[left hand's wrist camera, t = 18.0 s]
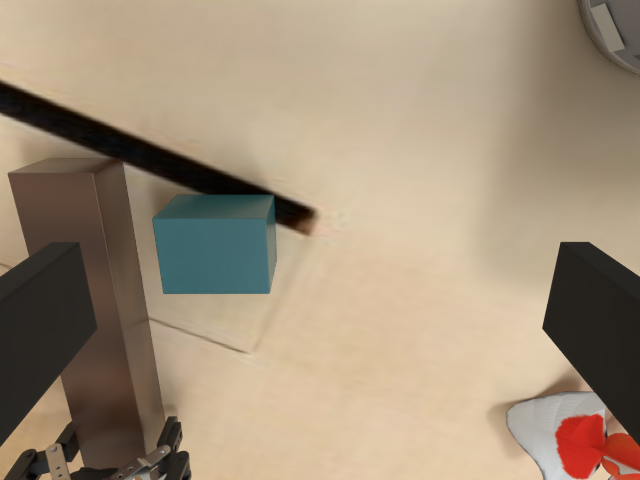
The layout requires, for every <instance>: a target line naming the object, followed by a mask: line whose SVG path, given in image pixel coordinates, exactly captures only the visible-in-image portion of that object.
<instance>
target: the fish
mask: <svg viewBox="0 0 640 480" xmlns="http://www.w3.org/2000/svg"><path fill="white" fill-rule="evenodd" d="M605 408H607V407H606V405H605V404H604V403H603V402H602V401H601V399H600V398H599V397H598V396H597V394H596V393H595V392H580V391H567V392H562V393H557V394H552V395H548V396H544V397H540V398H536V399H531V400H526V401H523V402H520V403H517V404H515V405H514V406H512V407H511V408H510V409H509V410H508V411H507V412H506V425H507V427H508V429H509V431H510V433H511V434H512V435H513V437H514V438H515V440H516V441H517V442H518V443H519V445H520V446H521V447H522V448H523V449H524V450H525V451H526V452H527V453H528V454H529V455H530V456H531V457H532V458H533V460H534V461H535V462H536V464H537V465H538V466H539V468H540V471H541V473H542V475H543V479H544V480H589V479H590V477H591V476H592V475H593V474H594V473H595V471H596V470H597V469H598V468H599V466H600V463H602V465H603V467H604V469H605V470H606V471H607V472H608V473H609V474H611V475H612V476H611V477H610V478H609V479H608V480H640V447H639V446H638V444H637V443H636V442H635V441H634V439H633V438H632V437H631V436H630V435H628V434H629V433H628V434H624V433H615V434H612V435H610V436H607V430H606V424H605Z"/></svg>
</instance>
